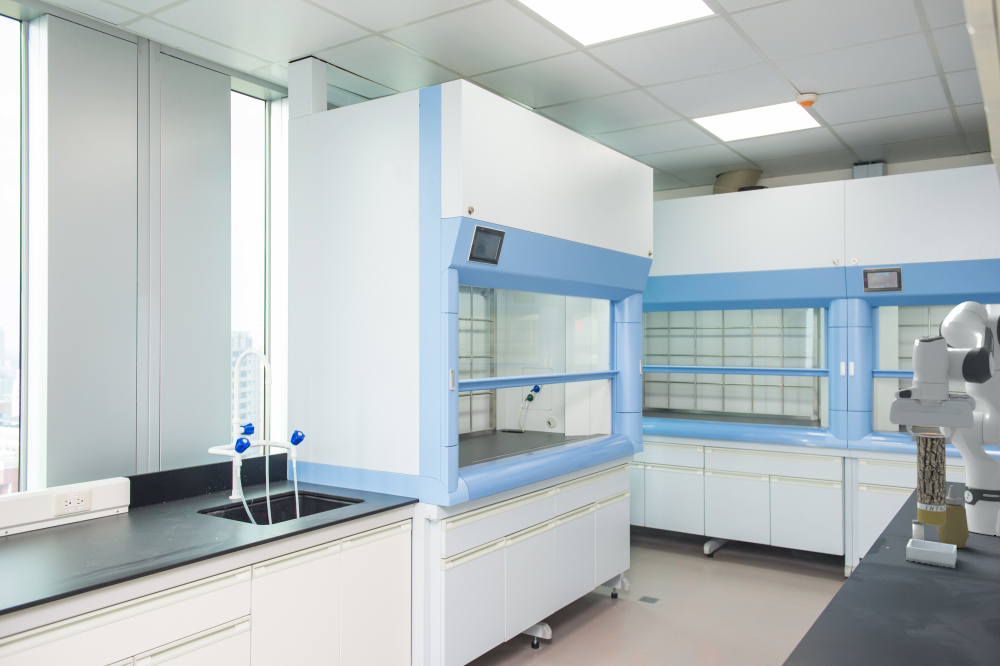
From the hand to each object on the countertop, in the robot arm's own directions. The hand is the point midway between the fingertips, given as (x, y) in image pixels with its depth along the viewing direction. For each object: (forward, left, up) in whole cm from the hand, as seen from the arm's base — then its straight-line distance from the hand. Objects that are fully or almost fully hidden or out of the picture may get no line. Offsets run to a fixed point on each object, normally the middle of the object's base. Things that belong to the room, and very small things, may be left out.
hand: (930, 442), depth 192 cm
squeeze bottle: (-16, -15, -33) cm, 39 cm away
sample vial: (-9, -21, -33) cm, 40 cm away
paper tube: (0, 0, -23) cm, 23 cm away
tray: (0, 0, -33) cm, 33 cm away
